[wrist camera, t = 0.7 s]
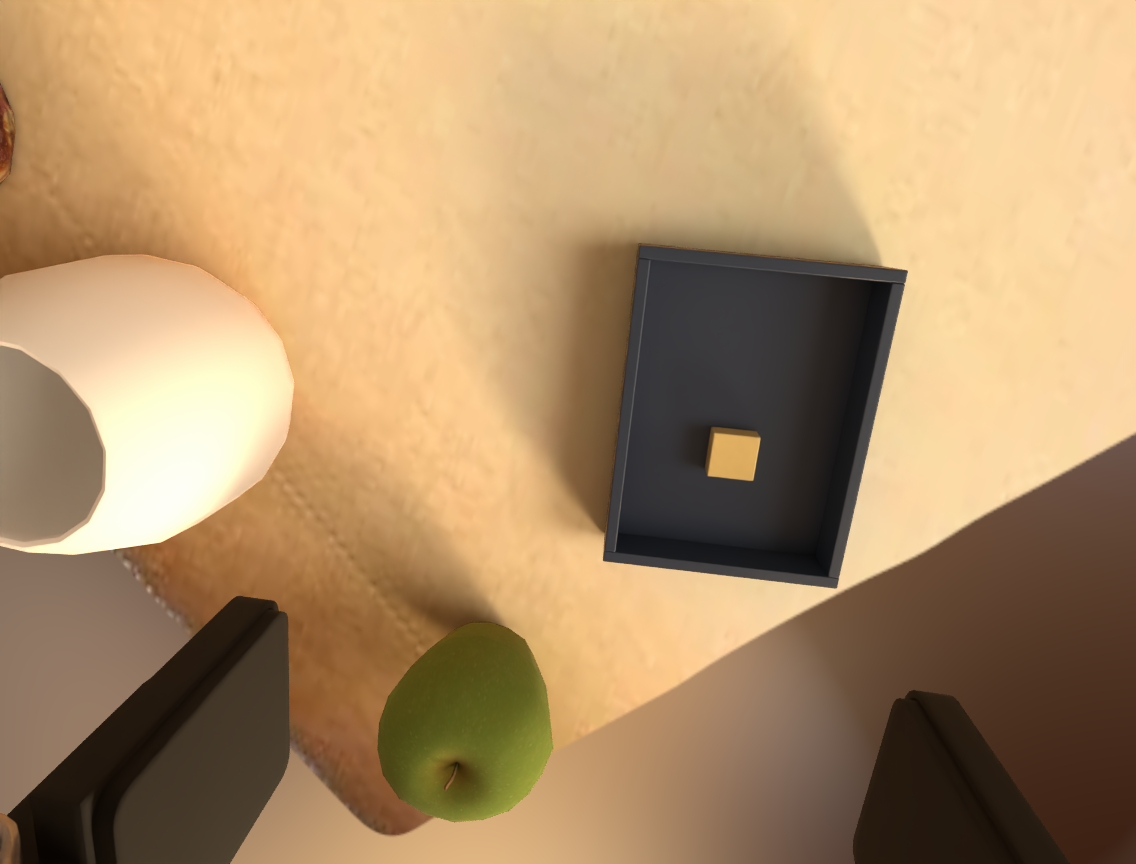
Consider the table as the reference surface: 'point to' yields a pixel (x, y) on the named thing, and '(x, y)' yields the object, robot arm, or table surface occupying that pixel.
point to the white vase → (131, 402)
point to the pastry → (6, 135)
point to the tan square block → (732, 453)
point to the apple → (467, 726)
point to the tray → (747, 410)
